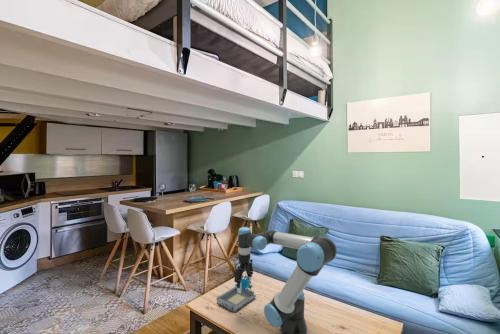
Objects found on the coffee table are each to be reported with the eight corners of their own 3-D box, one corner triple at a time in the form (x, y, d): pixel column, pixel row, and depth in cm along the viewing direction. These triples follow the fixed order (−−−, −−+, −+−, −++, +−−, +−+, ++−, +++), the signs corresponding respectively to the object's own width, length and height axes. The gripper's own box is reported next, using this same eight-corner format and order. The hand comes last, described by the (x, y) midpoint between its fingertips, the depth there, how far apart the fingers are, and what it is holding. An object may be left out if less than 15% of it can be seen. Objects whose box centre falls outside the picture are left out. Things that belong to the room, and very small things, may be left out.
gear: (232, 288, 152) (238, 272, 158) (234, 291, 156) (240, 276, 162) (248, 295, 148) (254, 278, 154) (250, 298, 152) (256, 281, 158)
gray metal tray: (256, 298, 175) (256, 292, 175) (234, 314, 157) (234, 307, 157) (238, 290, 185) (238, 284, 185) (215, 303, 167) (215, 298, 167)
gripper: (249, 247, 163) (249, 281, 164) (228, 256, 147) (227, 294, 148) (259, 249, 158) (258, 285, 159) (237, 260, 142) (237, 299, 143)
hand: (243, 289), depth 154 cm, fingers closed on gear, 8 cm apart
